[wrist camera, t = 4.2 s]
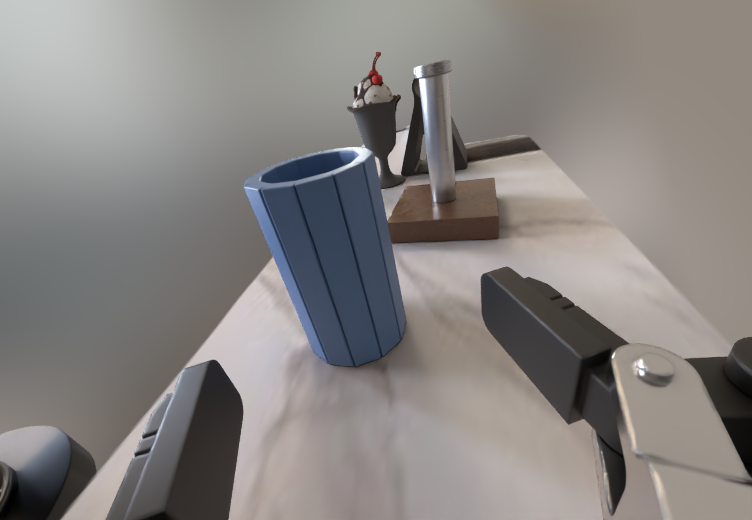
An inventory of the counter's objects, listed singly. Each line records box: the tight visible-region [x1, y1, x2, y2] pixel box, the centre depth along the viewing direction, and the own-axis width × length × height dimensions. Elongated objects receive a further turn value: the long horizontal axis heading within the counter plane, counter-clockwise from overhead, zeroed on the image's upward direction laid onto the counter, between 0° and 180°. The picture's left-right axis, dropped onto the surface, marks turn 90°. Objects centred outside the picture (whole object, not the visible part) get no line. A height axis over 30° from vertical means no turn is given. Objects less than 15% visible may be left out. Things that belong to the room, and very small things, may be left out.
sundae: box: [347, 52, 405, 188], centre depth 39 cm, size 7×7×15 cm
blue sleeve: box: [244, 147, 406, 367], centre depth 17 cm, size 6×6×10 cm
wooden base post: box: [387, 59, 499, 243], centre depth 27 cm, size 9×9×13 cm
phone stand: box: [401, 79, 468, 176], centre depth 42 cm, size 9×6×12 cm, turn 74°
